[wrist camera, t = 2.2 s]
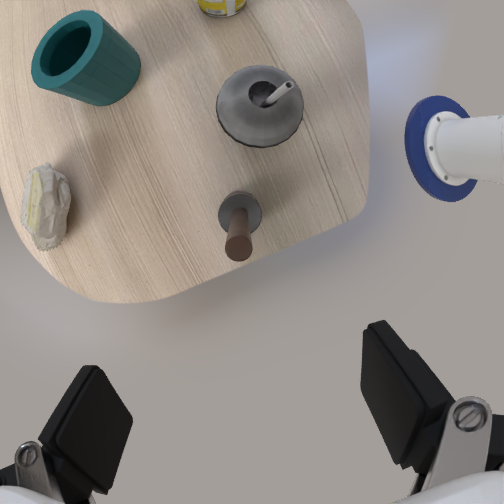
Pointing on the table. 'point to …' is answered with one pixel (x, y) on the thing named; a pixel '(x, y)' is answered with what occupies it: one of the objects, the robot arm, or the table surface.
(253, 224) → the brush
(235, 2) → the pill bottle
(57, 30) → the jar
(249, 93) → the beverage cup
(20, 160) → the table surface
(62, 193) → the fossil replica
